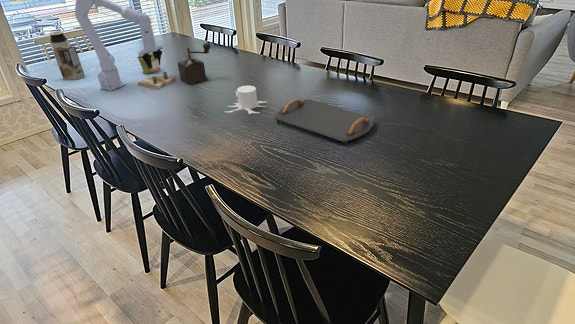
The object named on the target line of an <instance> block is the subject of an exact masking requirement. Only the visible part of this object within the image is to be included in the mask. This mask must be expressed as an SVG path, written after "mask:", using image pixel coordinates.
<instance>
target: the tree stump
mask: <svg viewBox="0 0 575 324" xmlns="http://www.w3.org/2000/svg"><path fill="white" fill-rule="evenodd" d="M233 91H234V92H235V94H236V95H235V97H237V99H236V100H235V102H233V104H234V105H227V107H229V108H236V109H232V110H229V111H228V110H227V111H225V110H224V113H233V112H235V111H241V110H245V111H247V112H248V115H251V114H260V112H258V111H254V110H253V109H255V108H266V107H267V105H261V104H264V103H267V102H268V100H266V101H261V100H259V101H258V100H257V99H258V98H257V88H256V87H255V86H253V85H242V86H238V88H237V89H236V91H235V89H233Z"/></svg>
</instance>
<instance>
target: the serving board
mask: <svg viewBox="0 0 575 324" xmlns="http://www.w3.org/2000/svg"><path fill="white" fill-rule="evenodd" d="M274 120H276V122H277V123H282V122H283V123H285V124H289V125H291V126H295V127H296V128H297V127H298V128H300V129H304V130H306V131H310V132H313V133H315V134H319V135H321V136H324V137H328V138H331V139H334V140H337V141H340V142H341V144H342V145H345V146H346V145H348V143H349V142H350V141H353V140H355V139H358V138H360V137H362V136H363V135H365V134H367V133H369V131H371V130H372V128H373V127H374V125H375V118H374V117H372V116H370V115H366V114H363V113H359V112H356V111H354V110H353V111H352V110H348V109H345V108H342V107H338V106H334V105H330V104H328V103H323V102H320V101H316V100H312V99H303V100H301V99H299V98H294V99H292V100H291V101H288V103H286V104H285V106H284V107H282V108H281V109H280V110H279V111H277V112H276V115H275V116H274Z"/></svg>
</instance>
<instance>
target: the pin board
mask: <svg viewBox="0 0 575 324" xmlns="http://www.w3.org/2000/svg"><path fill="white" fill-rule="evenodd" d="M162 74H163V75H161V74H155V75H152V76H150V77H147V78H145V79H143V80H140V81H138V82H137V86H139V87H144V88H149V89H154V90H158V89H160V88H163V87H165V86H167V85H169V84H172V83H174V82H176V79H175V77H172V76H169V75H168V73H167V71H163V72H162Z"/></svg>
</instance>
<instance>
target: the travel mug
mask: <svg viewBox="0 0 575 324" xmlns="http://www.w3.org/2000/svg"><path fill="white" fill-rule="evenodd" d="M48 35H49V36H50V42H51V45H52V48H53V50H54V49H56V48H58V47H66V46H69V43H68V41H67V37H66V36H65V34H64V31H62V30H58V31H57V30H56V31H51V32H49V33H48Z"/></svg>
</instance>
